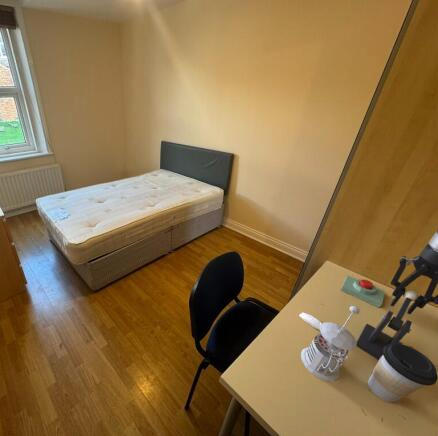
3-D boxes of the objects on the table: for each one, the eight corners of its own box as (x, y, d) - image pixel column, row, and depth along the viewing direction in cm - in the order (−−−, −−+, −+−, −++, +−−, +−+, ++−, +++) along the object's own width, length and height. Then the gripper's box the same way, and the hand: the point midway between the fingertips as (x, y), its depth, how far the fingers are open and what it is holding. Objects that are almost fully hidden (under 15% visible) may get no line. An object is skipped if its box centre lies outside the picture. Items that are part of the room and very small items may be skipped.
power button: (372, 286, 91) (374, 282, 90) (370, 290, 88) (372, 287, 88) (360, 281, 93) (362, 278, 92) (358, 285, 91) (360, 282, 90)
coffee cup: (359, 392, 63) (387, 361, 55) (360, 364, 69) (385, 333, 61) (407, 420, 57) (445, 391, 50) (404, 387, 63) (438, 357, 56)
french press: (338, 358, 70) (378, 302, 58) (341, 395, 62) (388, 339, 50) (301, 341, 75) (331, 286, 63) (299, 374, 67) (332, 318, 54)
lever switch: (403, 291, 75) (407, 286, 73) (417, 297, 73) (422, 292, 70) (384, 325, 70) (388, 321, 68) (398, 333, 68) (403, 329, 66)
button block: (382, 295, 91) (387, 287, 89) (379, 308, 86) (384, 300, 84) (345, 279, 99) (349, 272, 97) (340, 290, 94) (344, 282, 92)
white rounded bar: (322, 335, 77) (325, 329, 76) (297, 318, 83) (299, 313, 81) (326, 329, 79) (329, 324, 77) (301, 313, 84) (304, 308, 83)
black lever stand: (364, 326, 80) (383, 300, 73) (400, 346, 73) (424, 320, 67) (354, 345, 74) (373, 319, 68) (392, 368, 68) (417, 342, 61)
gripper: (403, 241, 67) (365, 297, 78) (496, 272, 56) (436, 332, 67) (408, 232, 71) (371, 287, 82) (496, 260, 59) (439, 318, 71)
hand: (400, 307), depth 75 cm, fingers closed on lever switch, 3 cm apart
